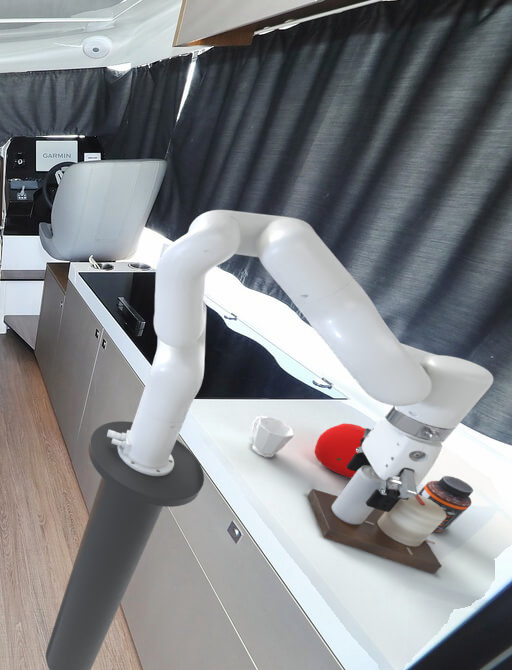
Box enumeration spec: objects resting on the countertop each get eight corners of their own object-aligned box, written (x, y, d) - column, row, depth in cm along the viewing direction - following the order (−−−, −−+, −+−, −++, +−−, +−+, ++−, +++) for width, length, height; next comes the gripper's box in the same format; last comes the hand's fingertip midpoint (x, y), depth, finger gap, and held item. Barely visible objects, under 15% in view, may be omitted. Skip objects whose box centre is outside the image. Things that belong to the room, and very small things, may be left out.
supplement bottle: (403, 520, 87) (436, 483, 82) (402, 503, 91) (433, 466, 85) (446, 539, 83) (483, 501, 78) (443, 520, 87) (478, 483, 82)
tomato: (322, 488, 98) (365, 479, 100) (383, 480, 87) (430, 471, 89) (291, 434, 103) (333, 427, 106) (344, 420, 92) (389, 413, 95)
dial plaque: (323, 537, 83) (329, 529, 82) (307, 496, 92) (312, 488, 91) (442, 577, 77) (451, 568, 75) (412, 528, 85) (420, 520, 84)
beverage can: (362, 516, 85) (395, 475, 79) (361, 531, 82) (395, 489, 76) (331, 501, 88) (360, 460, 82) (328, 515, 85) (359, 474, 79)
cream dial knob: (428, 551, 78) (456, 523, 74) (386, 539, 80) (411, 511, 76) (410, 525, 83) (435, 497, 79) (371, 514, 85) (393, 486, 81)
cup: (254, 459, 101) (267, 434, 98) (234, 430, 110) (246, 407, 106) (286, 463, 100) (301, 439, 96) (264, 434, 109) (277, 410, 105)
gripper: (478, 463, 65) (414, 533, 73) (421, 400, 78) (372, 464, 87) (412, 447, 68) (358, 515, 76) (369, 388, 81) (326, 452, 89)
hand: (366, 488), depth 81 cm, fingers open, 9 cm apart
